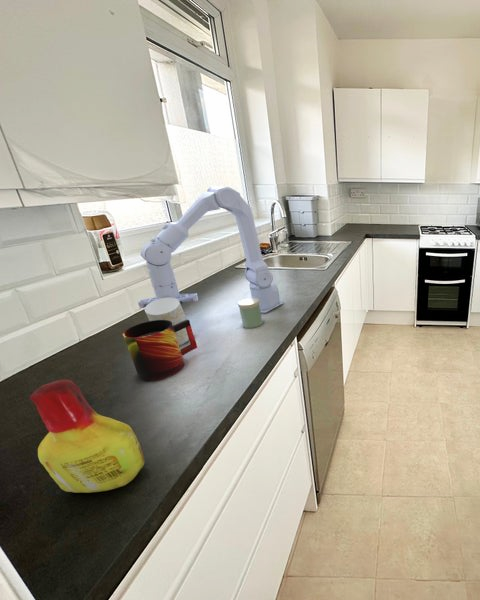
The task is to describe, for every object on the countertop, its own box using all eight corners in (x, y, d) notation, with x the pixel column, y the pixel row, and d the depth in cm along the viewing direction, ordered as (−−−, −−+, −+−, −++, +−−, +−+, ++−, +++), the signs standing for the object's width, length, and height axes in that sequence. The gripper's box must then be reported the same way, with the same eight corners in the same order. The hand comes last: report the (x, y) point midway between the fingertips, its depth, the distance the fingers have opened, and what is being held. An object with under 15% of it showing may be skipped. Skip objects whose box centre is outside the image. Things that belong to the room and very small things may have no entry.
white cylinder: (176, 349, 90) (162, 317, 83) (153, 342, 92) (137, 310, 85) (198, 332, 97) (186, 301, 90) (176, 326, 98) (162, 294, 91)
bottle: (47, 507, 47) (-20, 402, 40) (79, 470, 53) (26, 373, 46) (135, 494, 49) (88, 391, 42) (157, 460, 55) (118, 364, 48)
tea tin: (252, 318, 109) (248, 296, 106) (267, 321, 107) (263, 299, 104) (238, 326, 103) (233, 303, 100) (253, 329, 101) (248, 306, 98)
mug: (199, 350, 89) (188, 312, 85) (171, 380, 76) (157, 337, 72) (163, 352, 88) (150, 313, 84) (129, 382, 76) (112, 339, 71)
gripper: (129, 291, 86) (144, 335, 91) (191, 284, 92) (201, 325, 97) (137, 283, 92) (150, 325, 97) (194, 277, 98) (204, 317, 103)
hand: (176, 324), depth 97 cm, fingers closed, pressing on white cylinder
